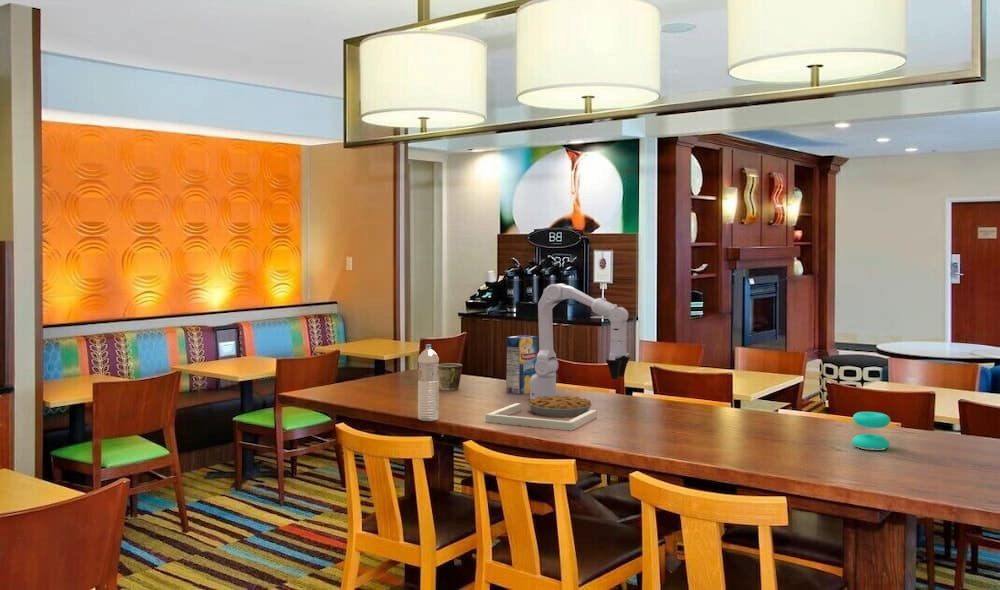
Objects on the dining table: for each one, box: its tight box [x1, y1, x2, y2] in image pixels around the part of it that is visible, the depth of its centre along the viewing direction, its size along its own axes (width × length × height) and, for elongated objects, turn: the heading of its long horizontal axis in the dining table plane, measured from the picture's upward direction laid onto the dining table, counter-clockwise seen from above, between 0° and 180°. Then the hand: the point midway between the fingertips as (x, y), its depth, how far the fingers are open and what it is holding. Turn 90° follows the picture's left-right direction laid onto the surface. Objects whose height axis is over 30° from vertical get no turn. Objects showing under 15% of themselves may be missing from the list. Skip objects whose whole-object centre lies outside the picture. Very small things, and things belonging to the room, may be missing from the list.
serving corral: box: [485, 402, 598, 432], centre depth 299 cm, size 30×24×2 cm
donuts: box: [851, 411, 891, 449], centre depth 260 cm, size 10×10×10 cm
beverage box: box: [505, 334, 538, 395], centre depth 355 cm, size 7×11×22 cm, turn 139°
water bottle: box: [417, 343, 440, 422], centre depth 297 cm, size 7×7×25 cm
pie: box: [527, 395, 593, 418], centre depth 313 cm, size 22×22×5 cm
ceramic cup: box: [438, 362, 463, 392], centre depth 358 cm, size 13×10×10 cm
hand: (617, 377), depth 327 cm, fingers open, 7 cm apart
